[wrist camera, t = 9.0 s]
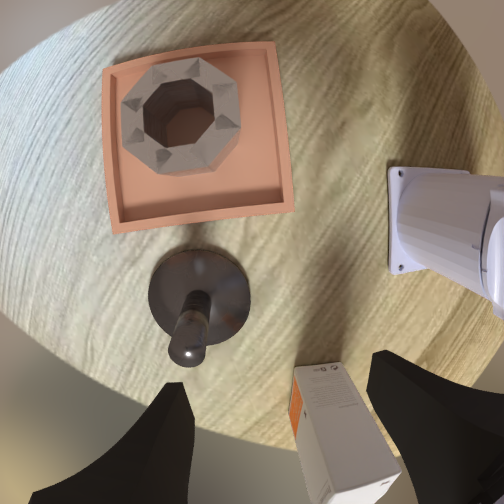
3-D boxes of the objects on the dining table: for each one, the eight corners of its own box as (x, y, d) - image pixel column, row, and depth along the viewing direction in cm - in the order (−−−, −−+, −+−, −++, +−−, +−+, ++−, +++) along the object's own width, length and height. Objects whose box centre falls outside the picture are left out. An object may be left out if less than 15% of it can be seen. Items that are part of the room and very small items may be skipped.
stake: (244, 243, 18) (252, 276, 12) (254, 337, 20) (265, 397, 13) (141, 255, 17) (101, 291, 11) (162, 345, 19) (141, 403, 13)
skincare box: (292, 365, 21) (335, 493, 9) (341, 359, 21) (406, 469, 9) (286, 414, 22) (314, 524, 10) (329, 408, 22) (372, 508, 11)
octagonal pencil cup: (232, 87, 15) (233, 53, 10) (240, 169, 16) (244, 162, 11) (148, 100, 15) (120, 73, 10) (153, 180, 16) (125, 180, 11)
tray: (271, 50, 15) (274, 41, 13) (289, 209, 18) (294, 211, 16) (111, 75, 14) (102, 68, 13) (121, 230, 17) (112, 234, 16)
